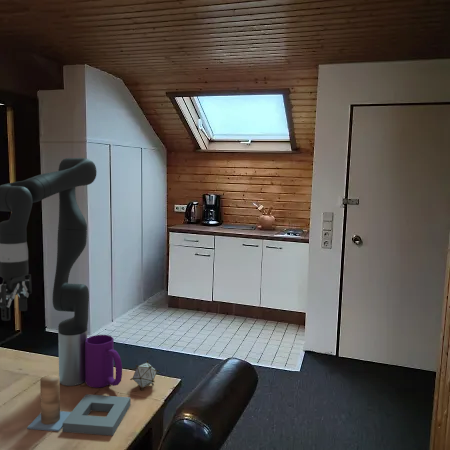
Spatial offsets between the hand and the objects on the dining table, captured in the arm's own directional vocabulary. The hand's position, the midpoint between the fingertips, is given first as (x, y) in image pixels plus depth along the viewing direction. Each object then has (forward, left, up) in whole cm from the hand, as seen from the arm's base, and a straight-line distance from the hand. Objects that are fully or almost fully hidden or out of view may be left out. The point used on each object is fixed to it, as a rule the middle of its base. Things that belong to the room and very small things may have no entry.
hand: (14, 315), depth 124 cm
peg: (+1, +10, -30) cm, 31 cm away
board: (-2, +23, -30) cm, 38 cm away
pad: (+1, +10, -30) cm, 32 cm away
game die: (-23, +31, -30) cm, 49 cm away
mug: (-22, +18, -30) cm, 41 cm away
